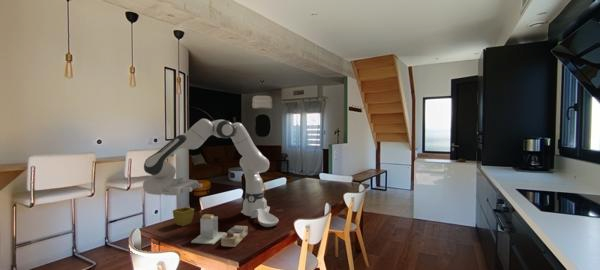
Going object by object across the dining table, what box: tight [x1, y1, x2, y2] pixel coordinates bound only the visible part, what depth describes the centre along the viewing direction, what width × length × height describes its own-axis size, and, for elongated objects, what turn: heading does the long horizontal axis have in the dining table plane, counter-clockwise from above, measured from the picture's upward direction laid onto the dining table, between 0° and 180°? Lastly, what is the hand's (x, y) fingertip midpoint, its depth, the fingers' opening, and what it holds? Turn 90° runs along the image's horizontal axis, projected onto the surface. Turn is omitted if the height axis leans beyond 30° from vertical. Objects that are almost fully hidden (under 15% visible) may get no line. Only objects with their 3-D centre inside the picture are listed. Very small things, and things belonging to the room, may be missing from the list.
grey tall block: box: [200, 213, 219, 239], centre depth 142 cm, size 5×7×11 cm
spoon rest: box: [250, 209, 280, 228], centre depth 166 cm, size 24×12×7 cm, turn 38°
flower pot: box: [172, 206, 195, 227], centre depth 162 cm, size 9×9×9 cm
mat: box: [190, 231, 227, 245], centre depth 142 cm, size 14×12×1 cm
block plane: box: [220, 225, 249, 248], centre depth 140 cm, size 17×7×6 cm, turn 170°
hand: (196, 187), depth 143 cm, fingers open, 8 cm apart
